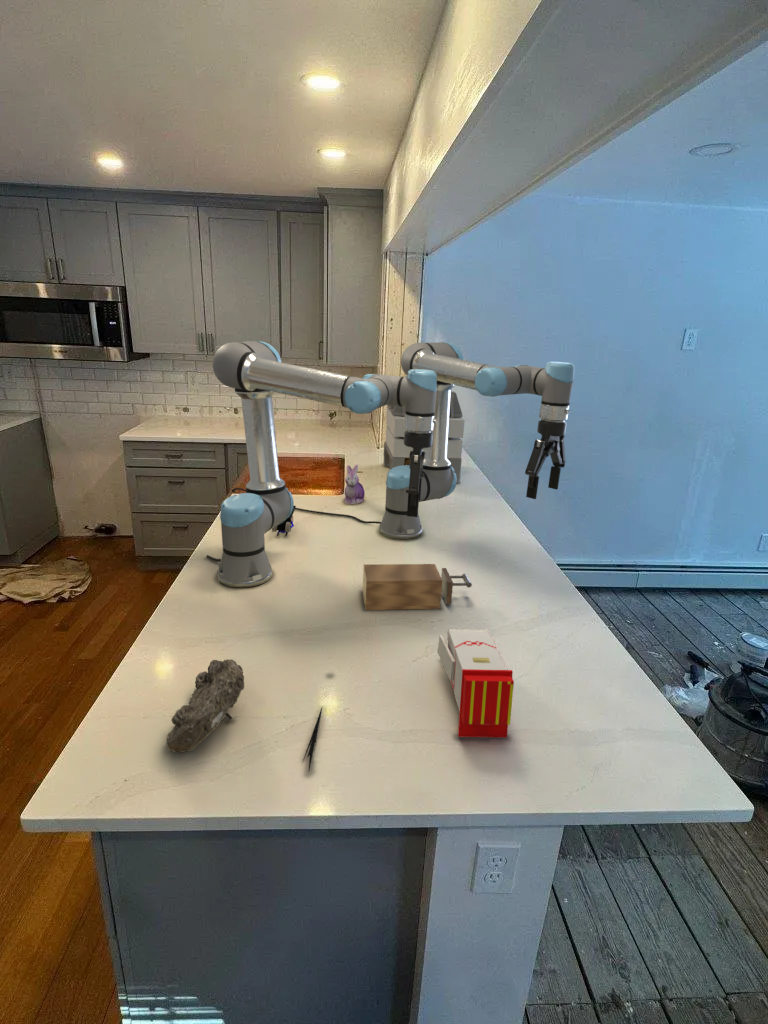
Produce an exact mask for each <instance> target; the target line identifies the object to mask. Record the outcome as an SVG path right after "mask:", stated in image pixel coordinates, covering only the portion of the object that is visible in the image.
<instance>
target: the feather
mask: <svg viewBox="0 0 768 1024" xmlns="http://www.w3.org/2000/svg"><path fill="white" fill-rule="evenodd" d="M329 675H330V676H331V675H332V674H331V673H330V674H329ZM322 710H323V707H321V708H320V710H319V713H318V716H317V719H316V723H315V725H314V728H313V731H312V733H311V737H310V739H309V742H308V745H307V748H306V751H305V754H304V757H303V760H302V763H301V767H302V765H303V763H304V761H305V758H308V759H309V760H308V762H307V763H308V764H307V766H308V771H310V770H311V766H312V765H311V764H312V760H313V757H315V756H314V755H315V751H316V749H315V746H317V739H318V733H319V729H320V722H321V717H322V712H323V711H322ZM313 754H314V755H313ZM306 755H307V757H306Z"/></svg>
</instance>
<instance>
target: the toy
mask: <svg viewBox="0 0 768 1024" xmlns="http://www.w3.org/2000/svg"><path fill="white" fill-rule="evenodd" d="M446 640H447V643H446V641H445V639H444V636H443V635H442V634H439V637H438V646H437V656H438V657H439V659H440V661H441V663H442V666H443V668H444V670H445V672H446V674H447V677H448V679H449V681H450V684H451V687H452V690H453V693H454V697H455V701H456V705H457V708H458V711H459V714H458V715H459V716H458V730H457V731H458V732H457V737H458V738H508V731H509V726H510V725H511V717H512V707H513V697H514V696H513V695H514V684H515V680H514V679H513V673H514V671H513V670H512V669H508V667H507V665H506V662H505V661H504V659H503V658H502V655H501V653H500V651H499V649H498V647H497V643H496V639H495V637H494V635H493V634H491V632H490V631H489V629H467V628H466V629H465V628H463V629H461V628H460V629H459V628H448V630H447V639H446Z"/></svg>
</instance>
